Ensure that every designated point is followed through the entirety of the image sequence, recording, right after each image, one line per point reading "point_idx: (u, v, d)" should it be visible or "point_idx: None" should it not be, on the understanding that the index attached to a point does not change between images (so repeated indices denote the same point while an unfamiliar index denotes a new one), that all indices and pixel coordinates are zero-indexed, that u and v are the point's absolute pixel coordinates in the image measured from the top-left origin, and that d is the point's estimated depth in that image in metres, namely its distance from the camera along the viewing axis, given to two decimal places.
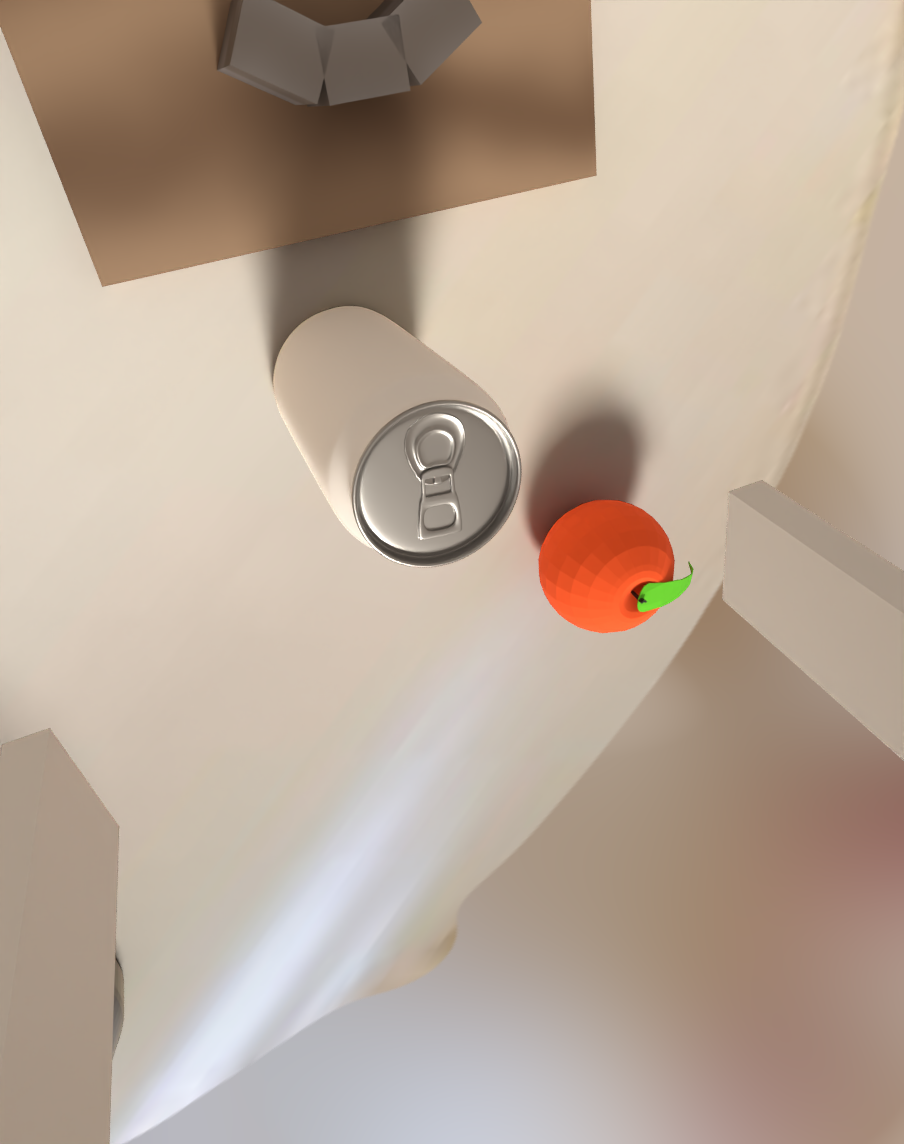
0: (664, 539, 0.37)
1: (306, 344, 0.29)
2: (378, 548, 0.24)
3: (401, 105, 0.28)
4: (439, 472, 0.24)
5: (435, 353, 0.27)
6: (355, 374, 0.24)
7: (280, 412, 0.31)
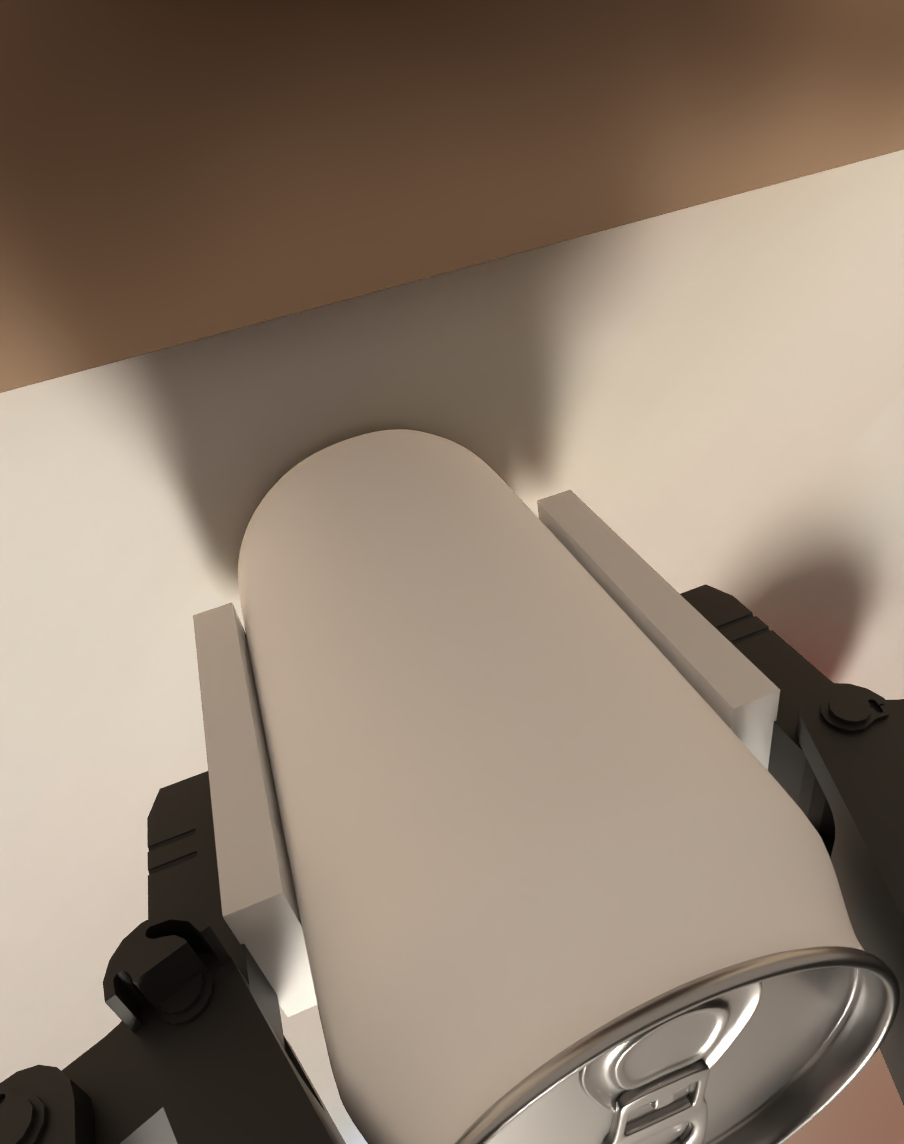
0: None
1: (295, 543, 0.13)
2: None
3: None
4: (669, 1076, 0.08)
5: (606, 613, 0.11)
6: (413, 743, 0.09)
7: None
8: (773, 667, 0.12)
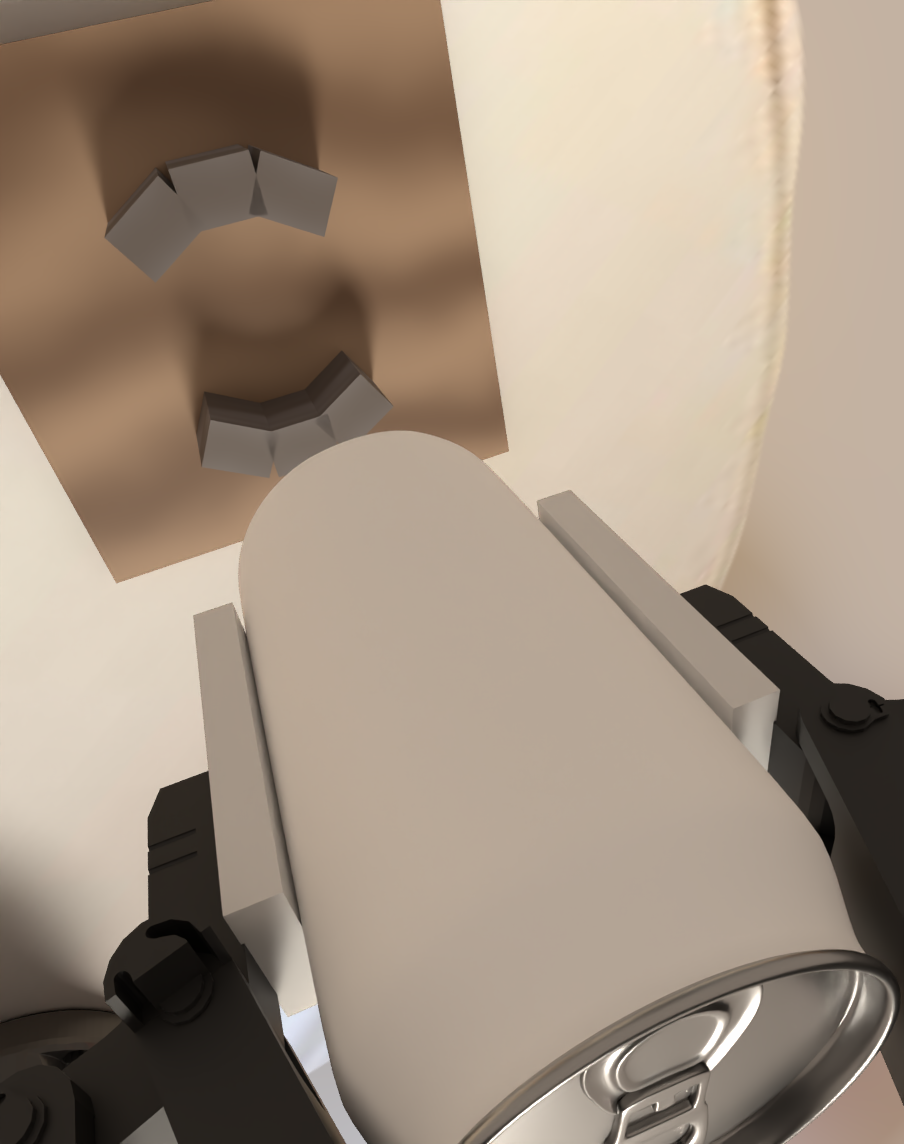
0: None
1: (296, 545, 0.13)
2: None
3: None
4: (671, 1078, 0.08)
5: (606, 615, 0.11)
6: (414, 745, 0.09)
7: None
8: (773, 667, 0.12)
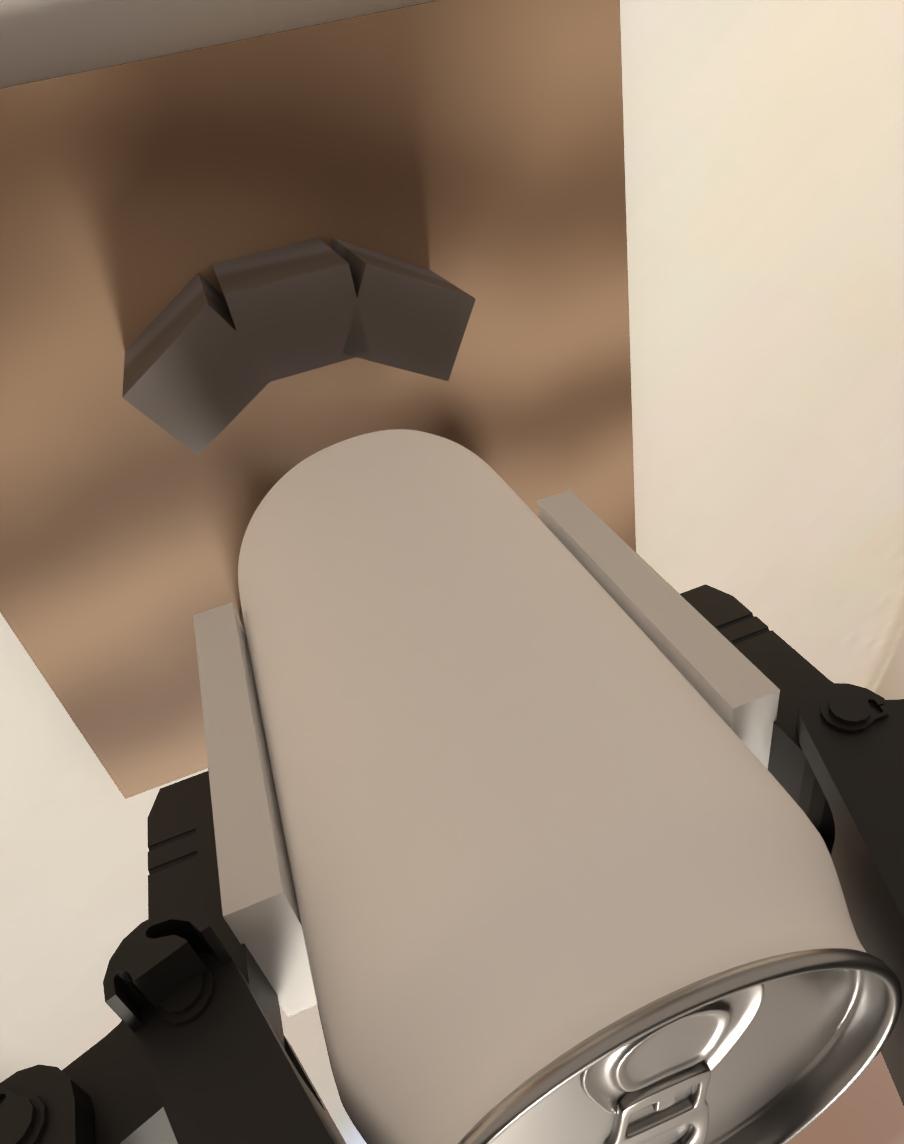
0: None
1: (295, 544, 0.13)
2: None
3: None
4: (671, 1077, 0.08)
5: (607, 613, 0.11)
6: (414, 745, 0.09)
7: None
8: (773, 667, 0.12)
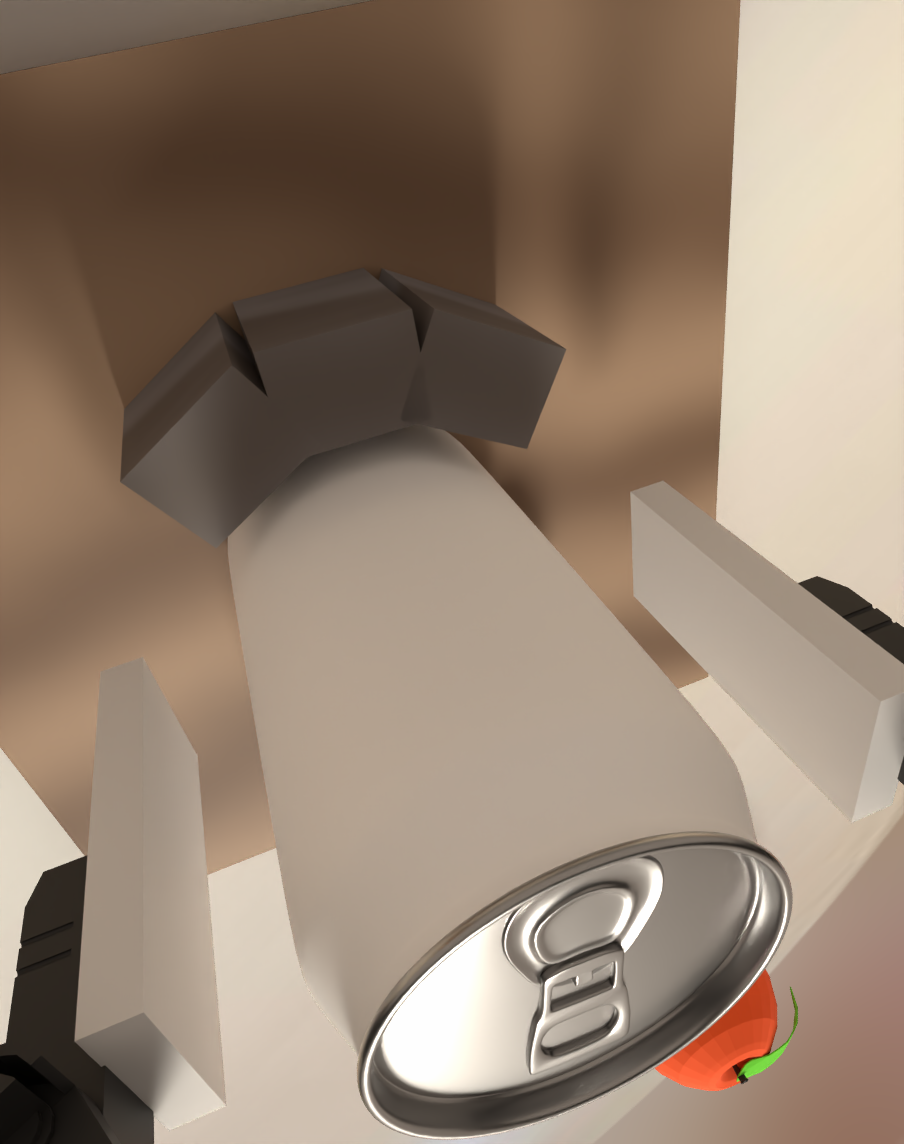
0: (768, 997, 0.32)
1: (276, 511, 0.14)
2: (429, 1133, 0.09)
3: None
4: (589, 956, 0.09)
5: (551, 567, 0.12)
6: (369, 673, 0.10)
7: None
8: None
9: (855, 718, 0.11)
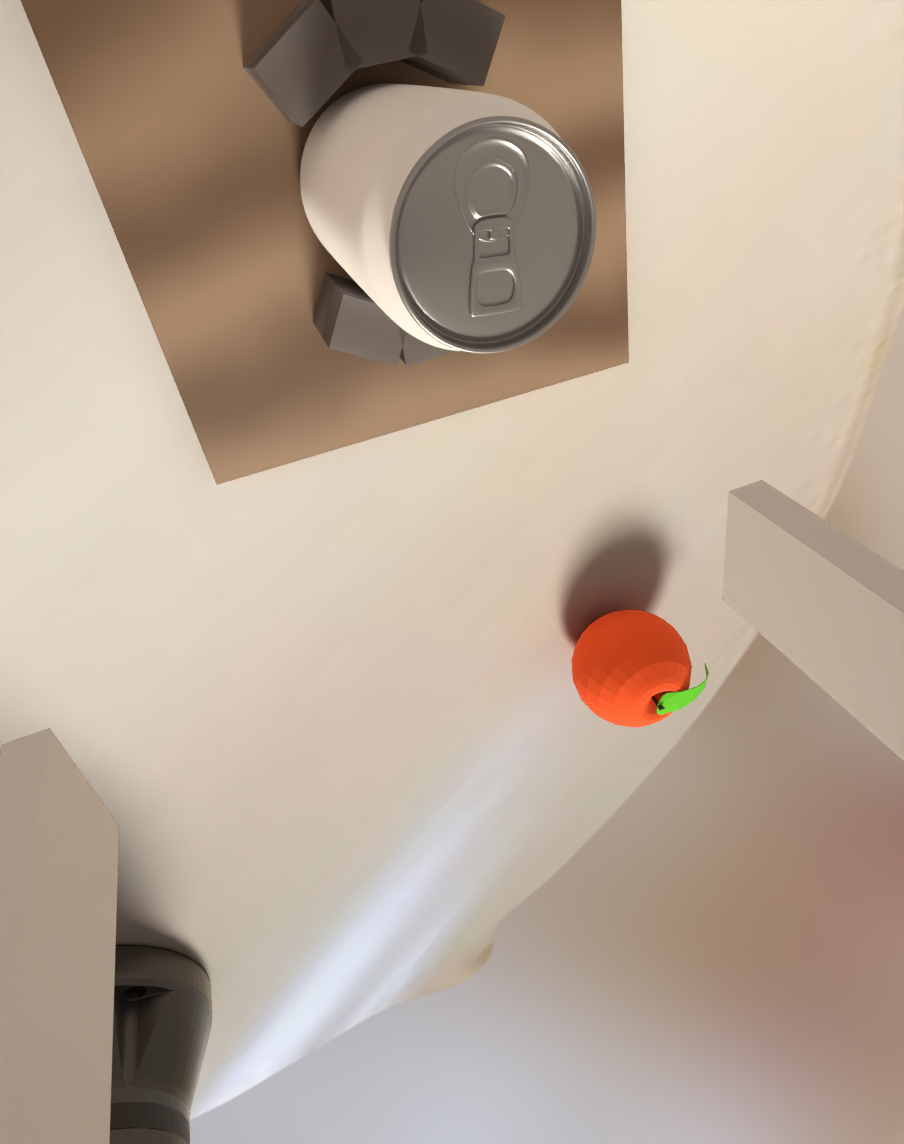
0: (682, 652, 0.43)
1: (336, 115, 0.24)
2: (421, 321, 0.20)
3: None
4: (496, 224, 0.19)
5: None
6: (394, 110, 0.20)
7: (308, 213, 0.27)
8: None
9: None
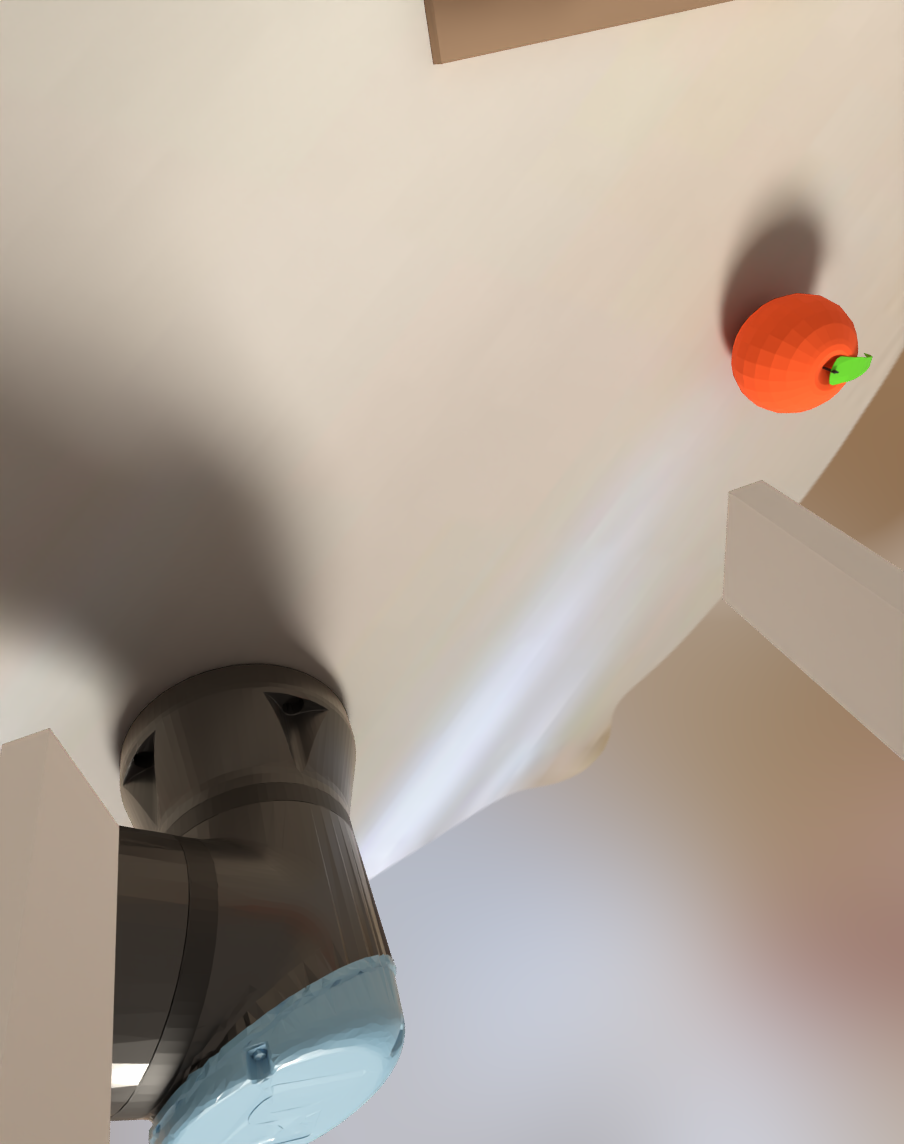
0: (852, 322, 0.43)
1: None
2: None
3: None
4: None
5: None
6: None
7: None
8: None
9: None
